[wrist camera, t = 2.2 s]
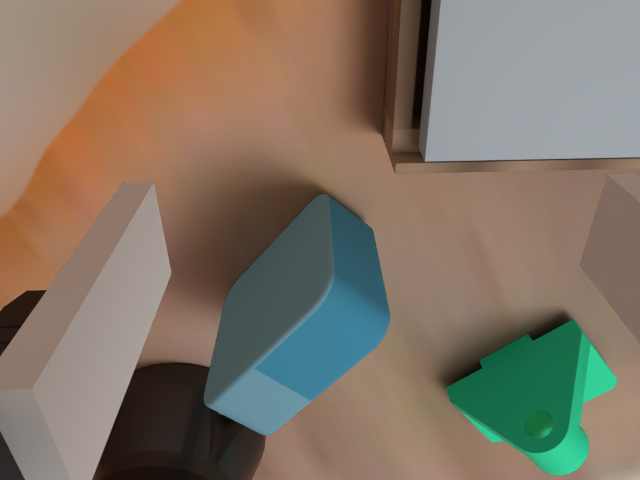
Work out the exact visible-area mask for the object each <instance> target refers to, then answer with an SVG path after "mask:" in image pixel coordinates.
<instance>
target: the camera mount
mask: <svg viewBox="0 0 640 480" xmlns="http://www.w3.org/2000/svg"><path fill="white" fill-rule="evenodd" d="M479 361H480V364H481V366H482V369H480V370H478V371H476V372H474V373H472V374H470V375H469V376H467V377H465V378H463V379H461V380H459V381H457V382H456V383H454V384H452V385H450V386H448V387H446V389H447V392H448V396H449V399H450V402H451V403H452V404H453V405H454V406H455V407H456V408H458V409H459V410H460V411H461V412H462V413H463V414H464V415H465V416H466V417H467V418H468V419H469V420H470V421H471V422H472V423H473V424H474V425H475V426H476V427H477V428H478V429H479V430H480V431H481V432H482V433H483V434H484V435H485V436H486V437H487V438H488V439H489V440H491V441H493V442H501V441H505V442H507V443H508V444H510V445H511V446H513V447H514V448H516V449H517V450H519V451H520V452H522V453H523V454H525V455H526V456H528V457H529V458H530V459H531V460H532V461H533V462H534V463H535V464H536V465H537V466H538V467H539V468H540V469H541V470H543V471H544V472H547V473H549V474H553V475H564V474H568V473H571V472H573V471H575V470H576V469H578V468H579V467H580V466H581V465H582V464H583V462H584V461H585V459H586V457H587V455H588V451H589V441H588V437H587V435H586V433H585V431H584V430H583V429H582V428H581V426H580V420H581V413H582V405H583V403H584V402H586V401H588V400H590V399H592V398H594V397H596V396H599V395H601V394H603V393H605V392H607V391H609V390H611V389H612V388H613V387H614V386H615V385H616V383H617V379H616V377H615V376H614V374H613V373H612V371H611V370H610V368H609V367H608V365H607V364H606V362H605V361H604V360H603V358H602V357H601V356H600V354H599V353H598V351H597V350H596V349H595V347H594V346H593V345H592V343H591V342H590V341H589V339H588V338H587V337H586V335H585V334H584V332H583V331H582V330H581V328H580V327H579V326H578V324H577V323H576V322H575V320H574V319H573V320H571V321H569V322H567V323H565V324H564V325H562V326H560V327H558V328H556V329H554V330H552V331H551V332H549V333H547V334H545V335H543V336H541V337H539V338H537V339H536V340H534V341H533V339H532V338H531V337H530V336H529V334H527V335H525V336H523V337H522V338H520V339H518V340H516V341H514V342H512V343H510V344H509V345H507V346H505V347H503V348H501V349H499V350H498V351H496V352H494V353H492V354H490V355H488V356H487V357H485V358H483V359H481V360H479Z"/></svg>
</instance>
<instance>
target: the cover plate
mask: <svg viewBox="0 0 640 480" xmlns="http://www.w3.org/2000/svg"><path fill="white" fill-rule="evenodd" d="M418 148H419V150H420V152H421V154H422V156H423V158H424V161H425V162H428V161H477V160H526V159H574V158H623V157H640V0H432V2H431V13H430V24H429V36H428V47H427V58H426V69H425V80H424V91H423V102H422V113H421V124H420V135H419V146H418Z"/></svg>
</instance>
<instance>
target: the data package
mask: <svg viewBox="0 0 640 480" xmlns="http://www.w3.org/2000/svg"><path fill="white" fill-rule="evenodd" d="M389 322H390V311H389V306H388V301H387V297H386V292H385V287H384V282H383V277H382V272H381V267H380V262H379V257H378V252H377V247H376V243H375V238H374V233H373V230H372V228H371V227H369V226H368V225H367V224H365V223H364V222H363V221H361V220H360V219H359V218H357V217H356V216H355V215H353V214H352V213H351V212H350V211H348V210H347V209H346V208H344V207H343V206H342V205H340V204H339V203H338V202H336V201H335V200H334V199H332V198H331V197H330V196H328V195H327V194H320V195H318V196H317V197H315V198H314V199H313V200H312V201H311V202H310V203H309V204H308V205H307V206H306V207H305V208H304V209H303V210H302V211H301V212H300V214H299V215H298V216H297V217H296V218H295V219H294V220H293V221H292V222H291V223H290V224H289V225H288V226H287V227H286V229H285V230H284V231H283V232H282V233H281V234H280V235H279V236H278V237H277V238H276V239H275V240H274V241H273V242H272V244H271V245H270V246H269V247H268V248H267V249H266V250H265V251H264V252H263V253H262V254H261V255H260V256H259V257H258V259H257V260H256V261H255V262H254V263H253V264H252V265H251V266H250V267H249V268H248V269H247V270H246V271H245V272H244V274H243V275H242V276H241V277H240V278H239V279H238V280H237V281H236V282H235V284H234V285H233V286H232V288H231V289H230V291H229V293H228V295H227V297H226V299H225V302H224V306H223V311H222V315H221V320H220V324H219V329H218V333H217V338H216V342H215V347H214V351H213V356H212V360H211V365H210V369H209V374H208V378H207V383H206V387H205V392H204V403H205V405H206V406H207V407H209V408H211V409H213V410H215V411H217V412H219V413H221V414H223V415H225V416H226V417H228V418H230V419H232V420H234V421H236V422H238V423H240V424H242V425H244V426H246V427H248V428H250V429H252V430H254V431H256V432H258V433H260V434H262V435H270V434H272V433H274V432H275V431H276V430H277V429H279V428H280V427H281V426H282V425H283V424H285V423H286V422H287V421H288V420H289V419H291V418H292V417H293V416H294V415H295V414H297V413H298V412H299V411H300V410H301V409H303V408H304V407H305V406H306V405H307V404H309V403H310V402H311V401H312V400H313V399H315V398H316V397H317V396H318V395H319V394H321V393H322V392H323V391H324V390H325V389H327V388H328V387H329V386H330V385H331V384H333V383H334V382H335V381H336V380H337V379H339V378H340V377H341V376H342V375H343V374H345V373H346V372H347V371H348V370H349V369H351V368H352V367H353V366H354V365H355V364H357V363H358V362H359V361H360V360H361V359H362V358H364V357H365V356H366V355H367V354H368V353H370V352H371V351H372V350H373V349H374V348H375V347H376V346H377V345H378V344H379V343H380V342H381V340H382V339H383V337H384V335H385V334H386V331H387V329H388V326H389Z"/></svg>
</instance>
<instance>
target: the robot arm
mask: <svg viewBox="0 0 640 480" xmlns="http://www.w3.org/2000/svg"><path fill="white" fill-rule="evenodd" d="M580 267H581V268H582V269H583V271H584V272H585V273H586V275H587V276H588V277H589V278H590V280H591V281H592V282H593V284H594V285H595V286H596V287H597V289H598V290H599V291H600V293H601V294H602V295H603V296H604V298H605V299H606V300H607V302H608V303H609V304H610V305H611V307H612V308H613V309H614V311H615V312H616V313H617V314H618V316H619V317H620V318H621V320H622V321H623V322H624V323H625V325H626V326H627V327H628V329H629V330H630V331H631V332H632V334H633V335H634V336H635V337H636V339H637V340H638V341H639V343H640V175H639V174H607V177H606V181H605V184H604V187H603V191H602V194H601V197H600V200H599V204H598V207H597V210H596V213H595V217H594V220H593V223H592V226H591V230H590V233H589V236H588V240H587V243H586V246H585V249H584V253H583V256H582V259H581V262H580ZM171 274H172V273H171V268H170V263H169V258H168V252H167V247H166V242H165V237H164V232H163V227H162V222H161V217H160V212H159V207H158V202H157V196H156V191H155V186H154V182H136V183H122V184H121V186H120V187H119V188H118V190H117V191H116V193H115V194H114V196H113V197H112V198H111V200H110V201H109V203H108V204H107V206H106V207H105V208H104V210H103V211H102V213H101V214H100V215H99V217H98V218H97V220H96V221H95V223H94V224H93V225H92V227H91V228H90V230H89V231H88V233H87V234H86V235H85V237H84V238H83V240H82V241H81V243H80V244H79V245H78V247H77V248H76V250H75V251H74V252H73V254H72V255H71V257H70V258H69V260H68V261H67V262H66V264H65V265H64V267H63V268H62V270H61V271H60V272H59V274H58V275H57V277H56V278H55V279H54V281H53V282H52V284H51V285H50V287H49V288H48V289H47V290H40V291H26V292H24V293H23V294H22V295H20V296H19V297H17V298H16V299H15V300H13V301H12V302H10V303H9V304H8V305H6V306H5V307H3V309H2V310H1V311H0V480H252V478H253V476H254V473H255V471H256V469H257V467H258V465H259V463H260V460H261V458H262V455H263V452H264V448H265V438H266V435H262V434H260V433H258V432H256V431H254V430H252V429H250V428H248V427H246V426H244V425H242V424H240V423H238V422H236V421H234V420H232V419H230V418H228V417H226V416H225V415H223V414H221V413H219V412H217V411H215V410H213V409H211V408H209V407H207V406H206V405H205V403H204V392H205V387H206V383H207V378H208V374H209V369H207V368H204V367H199V366H193V365H184V364H165V365H157V366H151V367H147V368H143V369H140V370H137V371H135V372H134V370H135V367H136V364H137V362H138V359H139V357H140V354H141V351H142V349H143V346H144V344H145V341H146V339H147V336H148V333H149V331H150V328H151V326H152V323H153V320H154V318H155V315H156V313H157V310H158V307H159V305H160V302H161V300H162V297H163V294H164V292H165V289H166V287H167V284H168V282H169V279H170V276H171Z"/></svg>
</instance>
